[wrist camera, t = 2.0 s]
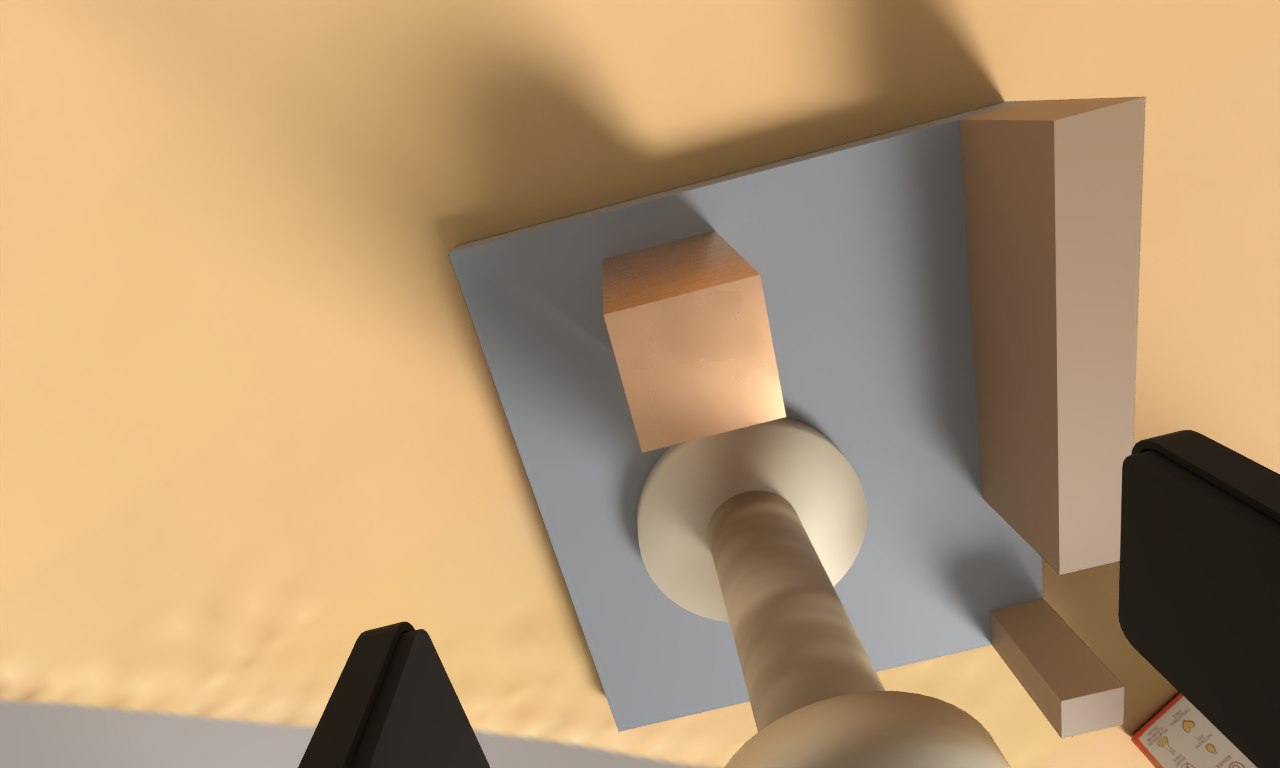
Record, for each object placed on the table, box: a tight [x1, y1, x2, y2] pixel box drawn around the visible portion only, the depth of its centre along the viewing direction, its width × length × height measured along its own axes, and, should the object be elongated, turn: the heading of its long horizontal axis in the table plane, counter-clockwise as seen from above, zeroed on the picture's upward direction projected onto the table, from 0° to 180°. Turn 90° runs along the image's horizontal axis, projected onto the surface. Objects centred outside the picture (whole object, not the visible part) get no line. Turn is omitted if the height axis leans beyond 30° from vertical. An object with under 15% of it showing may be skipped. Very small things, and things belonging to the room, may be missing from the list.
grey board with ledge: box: [448, 97, 1146, 738], centre depth 25 cm, size 20×23×6 cm
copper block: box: [602, 230, 786, 453], centre depth 21 cm, size 4×4×7 cm
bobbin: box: [637, 416, 1011, 768], centre depth 21 cm, size 9×9×14 cm
